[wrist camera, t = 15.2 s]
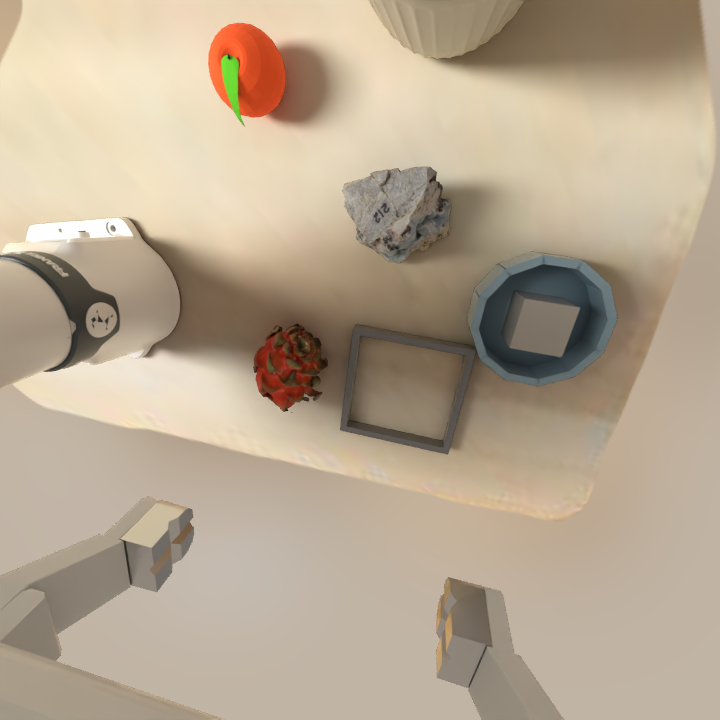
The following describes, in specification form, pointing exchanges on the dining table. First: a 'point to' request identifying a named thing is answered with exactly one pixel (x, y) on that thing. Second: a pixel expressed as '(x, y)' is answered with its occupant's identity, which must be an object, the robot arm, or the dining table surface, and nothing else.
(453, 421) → the tray
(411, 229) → the mineral specimen
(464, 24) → the canister
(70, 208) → the dining table surface
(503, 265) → the bowl
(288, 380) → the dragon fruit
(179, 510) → the robot arm
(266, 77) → the clementine
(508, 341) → the pebble block
